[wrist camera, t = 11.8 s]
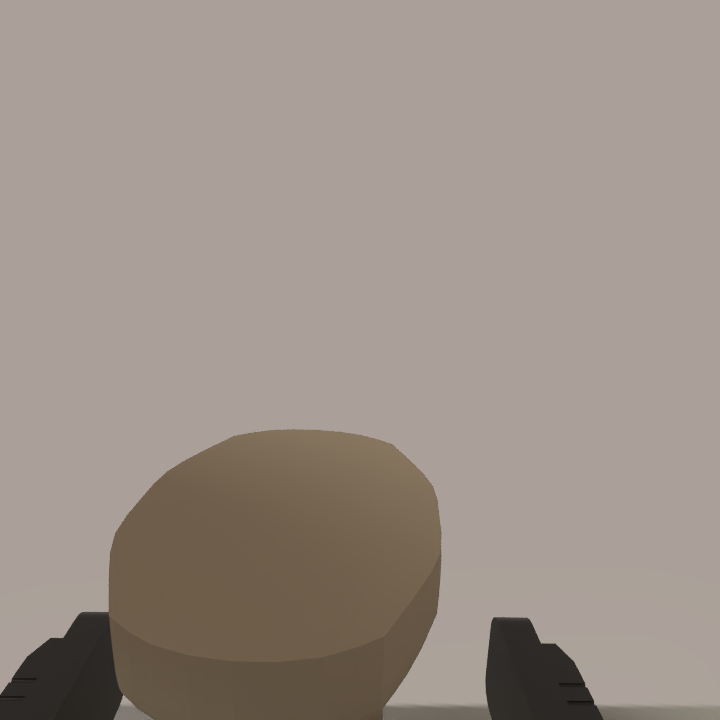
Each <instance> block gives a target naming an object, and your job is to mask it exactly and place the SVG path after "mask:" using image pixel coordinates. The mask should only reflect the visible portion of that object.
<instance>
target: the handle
mask: <svg viewBox="0 0 720 720" xmlns="http://www.w3.org/2000/svg"><path fill="white" fill-rule="evenodd" d="M440 571H441V527H440V518H439V510H438V501H437V498H436V494H435V491H434V488H433V486H432V485H431V483H430V482H429V480H428V479H427V478H426V477H425V475H424V474H423V473H422V472H421V471H420V470H419V469H418V468H417V467H416V466H415V465H414V464H413V463H412V462H411V461H410V460H409V459H407V458H406V456H404V455H403V454H402V453H401V452H400V451H399V450H398V449H397V448H396V447H395V446H394V445H392V444H390V443H386V442H384V441H381V440H378V439H374V438H369V437H366V436H362V435H356V434H350V433H343V432H334V431H322V430H294V429H293V430H270V431H262V432H254V433H248V434H242V435H237V436H233V437H231V438H229V439H227V440H225V441H223V442H221V443H219V444H217V445H215V446H212V447H210V448H208V449H206V450H204V451H202V452H200V453H199V454H197V455H195V456H193V457H191V458H189V459H187V460H185V461H183V462H182V463H180V464H178V465H177V466H175V467H174V468H172V469H170V470H169V471H167V472H166V473H165V474H164V475H163V476H162V477H161V478H160V479H159V480H158V481H157V482H155V483H154V484H153V486H152V487H151V488H150V489H149V490H148V491H147V493H146V494H145V495H144V496H143V497H142V498H141V500H140V501H139V502H138V503H137V504H136V505H135V507H134V508H133V509H132V510H131V511H130V512H129V514H128V515H127V516H126V518H125V519H124V521H123V522H122V524H121V525H120V527H119V528H118V530H117V531H116V533H115V537H114V540H113V544H112V548H111V551H110V568H109V622H110V631H111V640H112V649H113V657H114V665H115V672H116V678H117V682H118V686H119V689H120V691H121V693H122V694H123V695H124V696H126V698H128V699H129V700H130V701H131V702H132V703H133V704H134V705H135V706H136V707H137V708H138V709H139V710H141V711H142V712H144V713H145V714H147V715H148V716H150V717H151V718H153V719H154V720H382V708H383V707H384V706H385V704H386V703H387V702H388V701H389V699H390V698H391V697H392V695H393V694H394V693H395V691H396V690H397V688H398V687H399V685H400V684H401V682H402V681H403V679H404V678H405V677H406V675H407V674H408V672H409V670H410V668H411V666H412V664H413V663H414V661H415V659H416V657H417V656H418V654H419V652H420V650H421V648H422V646H423V644H424V641H425V639H426V637H427V635H428V633H429V630H430V628H431V626H432V623H433V621H434V619H435V616H436V614H437V607H438V597H439V586H440Z"/></svg>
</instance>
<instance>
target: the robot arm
mask: <svg viewBox="0 0 720 720" xmlns="http://www.w3.org/2000/svg"><path fill="white" fill-rule="evenodd" d="M486 695H487V702H488V707H489V711H490V715H491V718H492V720H603V718H602V716H601V714H600V712H599V710H598V708H597V706H595V705H594V700H593V698H592V696H591V694H590V692H589V690H588V688H586V687H585V682H584V681H583V678H582V676H581V674H580V672H579V670H578V669H577V667H576V665H575V663H574V661H573V660H571V658H569V657H568V656H567V655H566V654H565V653H564V652H563V651H562V650H561V649H560V648H559V647H558V646H557V645H556V644H541V643H540V641H539V638H538V636H537V634H536V632H535V629H534V627H533V625H532V623H531V621H530V620H529V619H528V618H505V617H501V618H499V617H498V618H496V617H495V618H493V620H492V623H491V631H490V640H489V650H488V659H487V668H486ZM122 696H123V694H122V693H121V691H120V689H119V686H118V682H117V678H116V672H115V665H114V657H113V649H112V640H111V631H110V622H109V612H82V613H80V614H79V615H78V616H77V618H76V619H75V621H74V622H73V624H72V625H71V627H70V629H69V630H68V631H67V633H66V635H65V636H64V638H50V639H49V640H48V641H46V642H45V643H44V644H42V645H41V646H40V647H39V648H37V649H36V650H35V651H34V652H33V653H31V654H30V655H29V656H27V658H26V659H25V661H24V662H23V663H22V665H21V666H20V668H19V669H18V670H17V672H16V673H15V675H14V676H13V678H12V681H11V683H8V685H7V686H6V687H5V689H4V690H3V692H2V693H1V695H0V720H113V719H114V717H115V715H116V712H117V710H118V708H119V706H120V703H121V700H122Z"/></svg>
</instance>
